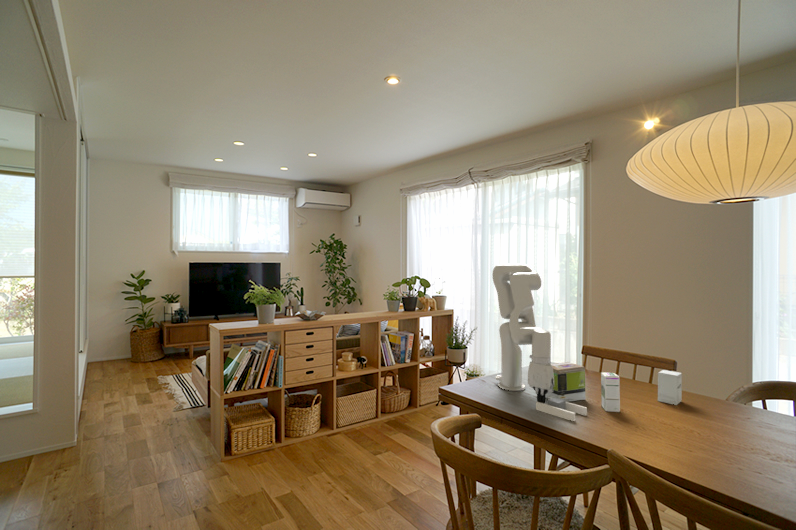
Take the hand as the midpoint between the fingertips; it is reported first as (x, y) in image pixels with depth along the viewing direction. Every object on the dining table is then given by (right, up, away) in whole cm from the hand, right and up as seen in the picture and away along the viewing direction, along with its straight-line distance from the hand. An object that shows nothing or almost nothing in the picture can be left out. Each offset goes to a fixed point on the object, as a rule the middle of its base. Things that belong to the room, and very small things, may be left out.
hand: (541, 403), depth 169 cm
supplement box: (+58, -1, +6) cm, 58 cm away
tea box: (+14, -1, +10) cm, 17 cm away
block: (+4, -1, -5) cm, 7 cm away
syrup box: (+27, -1, -3) cm, 27 cm away
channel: (+6, -1, -7) cm, 9 cm away
